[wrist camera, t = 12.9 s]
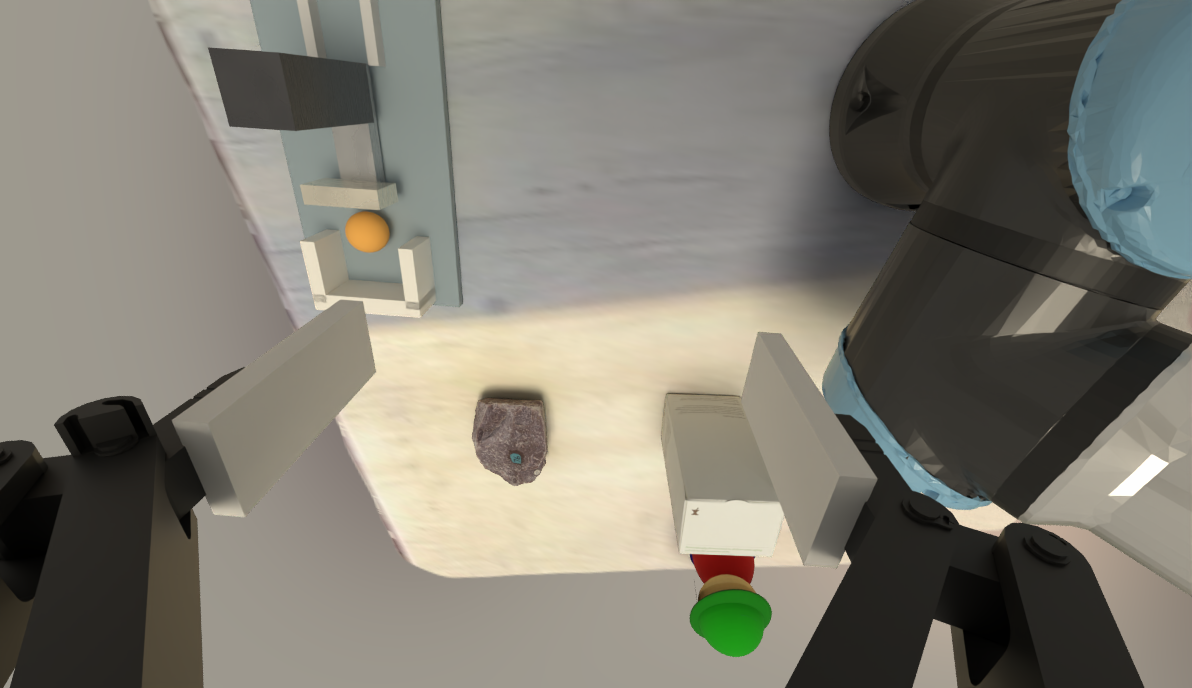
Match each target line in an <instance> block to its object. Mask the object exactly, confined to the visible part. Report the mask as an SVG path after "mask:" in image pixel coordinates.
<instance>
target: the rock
mask: <svg viewBox="0 0 1192 688" xmlns="http://www.w3.org/2000/svg"><path fill="white" fill-rule="evenodd" d="M475 411H476V415H475V419H474V427H473V433H472V440H473V442H474V445H475V450H476V455H477V457H478V459H479V460H480V462H481V464H483V466H484V468H485V469H488V470H490V471H491V472H493V473H495V474H497V475H500V476H501V477H502V478H503V479H504V480H505V481H507V482H508V483H509V484H511V485H513V486H518V485H520V484H524V483H531V482H533V481H534V480H535V479H536V477H537V476H538V475H539V474H540V473H541V471H542V468H543V466H545V463H546V460H545V455H546V453H547V438H546V424H545V413H544V407H543V401H542V400H513V399H495V398H485V399H484V400H479V401H478V405H477V407H476V410H475Z"/></svg>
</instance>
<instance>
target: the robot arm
mask: <svg viewBox="0 0 1192 688" xmlns="http://www.w3.org/2000/svg"><path fill="white" fill-rule="evenodd" d="M830 144H831V150H832V154H833V157H834V160H835V163H836V165H837V167H838V169H839V171H840V173H841V175H842V176H843V178H844V179H845V180H846V181H847V183H848V184H849V185H850V186H851V187H852V188H853V189H854V190H856V191H857V192H858V193H860V194H861V195H863V196H864V197H866V198H868V199H870V200H872V201H875V202H877V203H880V204H882V205H885V206H888V207H891V208H895V209H900V210H908V211H916V213H915V215H914V217H913V218H912V220H911V221H910V222H909V224H908V226H907V228H906V229H905V231H904V233H903V234H902V236H901V238H900V240H899V241H898V243H897V245H896V247H895V248H894V250H893V252H892V253H891V255H890V257H889V259H888V260H887V262H886V264H885V266H884V267H883V269H882V271H881V272H880V274H879V276H878V277H877V279H876V281H875V282H874V284H873V286H872V287H871V289H870V291H869V292H868V294H867V296H866V297H865V299H864V301H863V302H862V304H861V306H860V307H859V309H858V311H857V312H856V314H855V316H854V317H853V319H852V321H851V322H850V324H848V325H847V327H846V328H845V329H843V331H842V333H841V335H840V337H839V342H838V348H837V349H836V351H835V353H834V355H833V357H832V359H831V361H830V363H829V365H828V367H827V369H826V371H825V373H824V376H823V381H822V391H823V395H824V397H823V396H822V394H821V393H820V391H819V390H818V388H817V387H816V385H815V384H814V382H813V381H812V379H811V378H810V376H809V375H808V373H807V372H806V370H805V369H804V367H803V366H802V364H801V363H800V361H799V360H798V358H797V357H796V355H795V354H794V352H793V351H792V349H791V348H790V346H789V345H788V343H787V342H786V340H785V339H784V337H783V335H782V334H778V333H765V332H758V334H757V338H756V342H755V346H754V350H753V354H752V358H751V362H750V366H749V370H748V374H747V378H746V382H745V386H744V390H743V394H742V398H741V403H742V406H743V408H744V411H745V414H746V416H747V419H748V421H749V424H750V427H751V429H752V432H753V434H754V437H755V440H756V442H757V445H758V447H759V450H760V453H761V455H762V458H763V461H764V463H765V466H766V468H767V471H768V474H769V476H770V479H771V481H772V484H773V487H774V489H775V492H776V494H777V497H778V500H779V502H780V505H781V507H782V510H783V513H784V515H785V518H786V520H787V523H788V526H789V528H790V531H791V533H792V536H793V539H794V541H795V544H796V547H797V549H798V552H799V554H800V557H801V560H802V562H803V565H805V566H817V567H828V568H837V567H838V565H839V563H840V561H841V559H842V556H843V554H844V552H845V551H846V553H847V555H848V557H849V559H850V561H851V565H850V567H849V568H848V570H847V572H846V574H845V576H844V578H843V580H842V582H841V584H840V585H839V587H838V589H837V591H836V593H835V595H834V597H833V599H832V600H831V602H830V604H829V606H828V608H827V610H826V612H825V614H824V615H823V617H822V619H821V621H820V623H819V625H818V627H817V629H816V631H815V632H814V634H813V636H812V638H811V640H810V642H809V644H808V646H807V647H806V649H805V651H804V653H803V655H802V657H801V659H800V661H799V663H798V664H797V667H796V668H795V670H794V672H793V674H792V676H791V678H790V680H789V681H788V683H787V685H786V687H785V688H912V687H913V683H914V680H915V677H916V673H917V670H918V667H919V663H920V660H921V657H922V654H923V650H924V647H925V644H926V640H927V637H928V634H929V631H930V627H931V624H932V621H933V619H935V620H938V621H941V622H944V623H946V624H949V625H951V633H952V642H953V650H954V660H955V667H956V677H957V686H958V688H1144V686H1143V683H1142V681H1141V679H1140V677H1139V674H1138V672H1137V670H1136V667H1135V665H1134V663H1133V661H1132V659H1131V656H1130V654H1129V652H1128V649H1127V647H1126V645H1125V643H1124V640H1123V638H1122V636H1121V634H1120V631H1119V629H1118V627H1117V624H1116V622H1115V620H1114V618H1113V615H1112V613H1111V611H1110V608H1109V606H1108V604H1107V602H1106V599H1105V598H1104V595H1103V593H1102V590H1101V588H1100V586H1099V584H1098V581H1097V579H1096V577H1095V574H1094V572H1093V570H1092V568H1091V566H1090V564H1089V563H1088V561H1087V560H1086V559H1085V557H1084V556H1083V555H1082V554H1081V553H1080V552H1079V551H1078V550H1077V549H1075V548H1074V547H1073V546H1072V545H1071V544H1070V543H1068V542H1067V541H1066V540H1064V539H1063V538H1060V537H1059V536H1057V535H1056V534H1054V533H1052V532H1049V531H1047V530H1044V529H1042V528H1040V527H1038V526H1033V525H1030V524H1037V525H1060V526H1074V527H1078V528H1082V529H1086V530H1089V531H1091V532H1092V533H1093V534H1095V535H1096V536H1098V537H1100V538H1101V539H1103V540H1104V541H1106V542H1107V543H1109V544H1110V545H1112V546H1114V547H1115V548H1117V549H1118V550H1120V551H1121V552H1123V553H1124V554H1126V555H1128V556H1129V557H1131V558H1132V559H1134V560H1135V561H1137V562H1138V563H1140V564H1141V565H1143V566H1145V567H1146V568H1148V569H1149V570H1151V571H1152V572H1154V573H1156V574H1157V575H1159V576H1160V577H1162V578H1164V579H1165V580H1166V581H1168V582H1169V583H1171V584H1173V585H1174V586H1176V587H1177V588H1179V589H1180V590H1182V591H1183V592H1185V593H1187V594H1188V595H1190V596H1191V597H1192V335H1191V334H1188V333H1186V332H1183V331H1180V330H1178V329H1175V328H1172V327H1170V326H1167V325H1164V324H1162V323H1160V322H1158V321H1157V320H1156V318H1157V316H1158V315H1159V314H1160V313H1161V311H1162V310H1163V309H1164V308H1165V307H1166V306H1167V305H1168V303H1169V302H1170V301H1171V300H1172V299H1173V298H1174V297H1175V296H1176V295H1177V294H1178V293H1179V292H1180V290H1181V289H1182V288H1183V287H1184V286H1185V285H1186V284H1187V283H1188V282H1189V281H1190V280H1191V279H1192V0H916V1H914V2H912V3H910V4H908V5H907V6H905V7H904V8H902V9H900V10H899V11H897V12H896V13H895V14H893V15H892V16H891V17H889V18H888V19H887V20H886V21H884V22H883V23H882V24H881V25H880V26H879V27H878V28H877V29H876V30H875V31H874V32H873V33H872V34H871V35H870V36H869V37H868V38H867V39H866V41H865V42H864V43H863V44H862V46H861V47H860V48H859V49H858V51H857V52H856V54H855V55H854V57H853V58H852V60H851V61H850V63H849V65H848V67H847V68H846V70H845V72H844V74H843V76H842V78H841V81H840V83H839V86H838V88H837V91H836V94H835V97H834V101H833V105H832V110H831V116H830ZM375 372H376V369H375V364H374V359H373V353H372V348H371V342H370V337H369V331H368V326H367V320H366V315H365V309H364V304H363V301H354V300H341V299H340V300H339V301H337V302H336V303H335V304H333V305H332V306H330V307H329V308H328V309H326V310H325V311H323V312H322V313H321V314H319V315H318V316H316V317H315V318H314V319H312V320H311V321H309V322H308V323H307V324H305V325H304V326H303V327H301V328H300V329H298V330H297V331H296V332H294V333H293V334H291V335H290V336H289V337H287V338H286V339H284V340H283V341H282V342H280V343H279V344H277V345H276V346H275V347H273V348H272V349H270V350H269V351H268V352H266V353H265V354H264V355H262V356H261V357H259V358H258V359H257V360H255V361H254V362H252V363H251V364H249V365H248V366H247V367H243V368H241V369H238V370H236V371H234V372H231V373H229V374H227V375H224V376H223V377H221V378H219V379H218V380H217V381H215V382H214V383H212V384H211V385H209V386H208V387H207V389H206V390H202V391H201V392H199V393H198V394H197V395H195V396H194V398H193V399H190V400H188V401H186V402H185V403H184V404H182V405H181V406H179V407H178V408H176V409H175V410H174V411H172V412H171V413H169V414H168V415H166V416H165V417H164V418H162V419H161V420H159V421H158V422H156V423H155V424H154V425H152V423H151V420H150V418H149V416H148V414H147V412H146V410H145V407H144V405H143V403H142V402H141V399H139V398H136V397H133V396H117V397H110V398H104V399H100V400H97V401H94V402H90V403H87V404H84V405H82V406H80V407H77V408H75V409H73V410H71V411H69V412H68V413H66V414H65V415H63V416H61V417H60V418H59V419H58V420H57V422H56V423H55V424H54V426H55V428H56V429H57V431H58V433H59V434H60V436H61V438H62V439H63V441H64V443H65V445H66V446H67V448H68V449H69V451H70V453H71V455H66V456H58V457H51V458H42V457H41V455H40V453H39V452H38V450H37V449H36V447H35V446H34V444H33V443H32V442H28V441H23V440H18V441H6V442H1V443H0V688H3V687H4V685H5V684H6V682H7V680H8V679H9V677H10V675H11V674H12V672H13V670H14V668H15V671H14V674H13V678H12V682H11V685H10V688H203V663H202V662H203V661H202V634H201V607H200V581H199V553H198V527H197V518H196V516H195V514H194V512H193V509H192V508H193V507H194V506H195V505H196V504H197V503H198V502H199V501H200V500H201V499H202V498H203V497H204V496H206V499H207V501H208V503H209V505H210V508H211V510H212V512H213V514H214V515H227V516H238V517H246V516H247V514H249V513H250V511H251V510H252V509H253V508H254V507H255V506H256V505H257V503H258V502H259V501H260V500H261V499H262V498H263V497H264V496H265V495H266V494H267V492H268V491H269V490H270V489H271V488H272V487H273V486H274V485H275V484H276V482H277V481H278V480H279V479H280V478H281V477H282V476H283V474H284V473H285V472H286V471H287V470H288V469H289V468H290V467H291V466H292V465H293V463H294V462H295V461H296V460H297V459H298V458H299V457H300V456H301V455H302V454H303V452H304V451H305V450H306V449H307V448H308V447H309V446H310V445H311V444H312V442H313V441H314V440H315V439H316V438H317V437H318V436H319V435H320V434H321V432H322V431H323V430H324V429H325V428H326V427H327V426H328V425H329V423H330V422H331V421H332V420H333V419H334V418H335V417H336V416H337V415H338V414H339V412H340V411H341V410H342V409H343V408H344V407H345V406H346V405H347V404H348V402H349V401H350V400H351V399H352V398H353V397H354V396H355V395H356V394H357V392H358V391H359V390H360V389H361V388H362V387H363V386H364V385H365V384H366V382H367V381H368V380H369V379H370V378H371V377H372V376H373V375H374V374H375ZM824 398H825V399H824ZM920 492H922V493H923V494H921V493H920ZM992 502H993V503H994V504H996V505H997V506H999V507H1000V508H1002V509H1003V510H1005V511H1006V512H1008V513H1009V514H1011V515H1012V516H1013V517H1015V518H1016V519H1018V520H1020V521H1021V522H1022V523H1011V524H1009V525H1008V526H1006V527H1005V528H1004V530H1003V531H1002V533H1001V534H1000V536H999V537H997V536H994V535H991V534H987V533H984V532H981V531H978V530H974V529H971V528H968V527H964V526H962V525H959V523H958V521H957V520H956V518H955V517H954V515H953V514H952V513H951V512H950V511H949V510H948V509H947V508H946V507H948V508H952V509H957V510H971V509H975V508H978V507H982V506H987V505H989V504H990V503H992Z"/></svg>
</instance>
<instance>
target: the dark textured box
mask: <svg viewBox="0 0 1192 688" xmlns="http://www.w3.org/2000/svg"><path fill="white" fill-rule="evenodd" d="M208 49H209V53H210V56H211V60H212V64H213V67H214V71H215V75H216V78H217V82H218V86H219V89H220V93H221V96H222V100H223V104H224V107H225V111H226V115H227V118H228V122H229V126H232V127H246V128H260V129H274V130H288V131H301V130H310V129H320V128H329V127H332V133H333V138H334V144H335V149H336V155H337V160H338V165H339V171H340V176H341V179H334V178H322V179H318V180H315V181H311V182H307V183H304V184H300V188H301V192H302V197H303V201H304V204H305V205H318V206H332V207H345V208H358V209H372V210H381V209H383V208H385V207H388V206H390V205H392V204H394V203H396V202H398V196H397V189H396V183H388V182H385V176H384V169H383V162H382V155H381V148H380V141H379V134H378V127H377V120H376V113H375V105H374V98H373V91H372V84H371V77H370V70H369V65H368V64H366V63H358V62H350V61H342V60H334V59H326V58H318V57H310V56H303V55H295V54H287V53H279V52H265V51H250V50H236V49H221V48H208Z"/></svg>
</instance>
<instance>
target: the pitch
mask: <svg viewBox="0 0 1192 688" xmlns="http://www.w3.org/2000/svg"><path fill="white" fill-rule="evenodd" d="M250 3H251V7H252V12H253V16H254V20H255V25H256V29H257V33H258V38H259V42H260V46H261V51H265V52H279V53H287V54H295V55H303V56H310V57H318V58H326V59H334V60H342V61H350V62H358V63H366V64H368V65H369V70H370V77H371V84H372V91H373V98H374V105H375V113H376V120H377V127H378V134H379V141H380V148H381V155H382V162H383V169H384V176H385V182H388V183H396V189H397V196H398V202H396V203H394V204H392V205H390V206H388V207H385V208H383V209H381V210H372V209H358V208H345V207H332V206H318V205H305V204H304V201H303V197H302V192H301V188H300V184H304V183H307V182H311V181H315V180H318V179H322V178H334V179H341V176H340V171H339V165H338V160H337V155H336V149H335V144H334V138H333V133H332V127H329V128H320V129H310V130H301V131H288V130H280V133H281V138H282V142H283V146H284V151H285V155H286V159H287V164H288V168H289V172H290V177H291V181H292V185H293V190H294V194H295V198H296V203H297V207H298V212H299V216H300V220H301V225H302V229H303V233H304V238H305V239H306V238H308V237H310V236H313V235H315V234H317V233H319V232H322V231H324V230H326V229H329V230H340V236H341V241H342V246H343V251H344V256H345V261H346V267H347V272H348V277H349V280H362V281H374V282H387V283H400V284H403V282H402V274H401V267H400V260H399V253H398V248H400V247H401V246H403V245H404V244H406V243H407V242H409V241H410V240H411V239H413V238H414V237H416V236H422V237H430V245H431V255H432V264H433V274H434V283H435V293H436V302H435V303H434V304H433V305H438V306H451V307H460V306H461V305H462V304H463V300H462V287H461V274H460V260H459V247H458V234H457V221H456V208H455V195H454V182H453V169H452V156H451V143H450V130H449V117H448V104H447V91H446V77H445V64H444V51H443V38H442V25H441V12H440V0H250ZM363 211H367V212H373V213H375V214H377V215H379V216H380V217H382V218H383V219H384V220H385V222H386V223H387V225H388V227H389V232H390V236H389V240H388V243H387V244H386V246H385V247H384V248H382V249H381V250H379V251H377V252H371V253H367V252H362V251H360V250H358V249H356V248H354V247H353V246H352V245H351V244H350V243H349V241H348V239H347V237H346V234H345V226H346V223H347V221H348V219H349V218H350V217H351V216H352V215H354V214H356V213H358V212H363Z"/></svg>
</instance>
